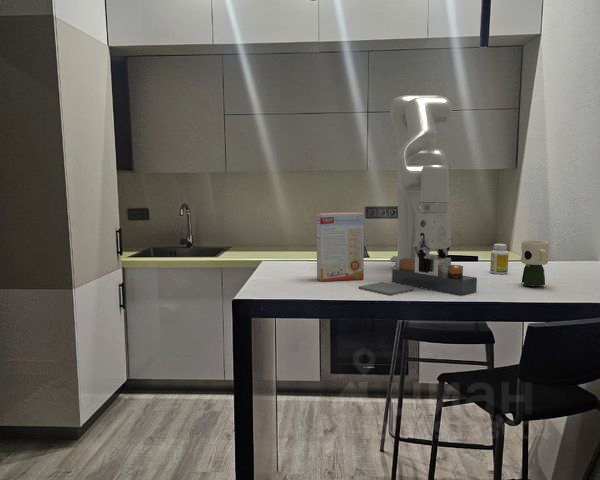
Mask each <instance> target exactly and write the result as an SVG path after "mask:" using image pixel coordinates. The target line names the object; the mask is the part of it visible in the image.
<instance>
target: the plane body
mask: <svg viewBox="0 0 600 480" xmlns="http://www.w3.org/2000/svg"><path fill="white" fill-rule="evenodd" d="M463 272H464V266H463V265H462V264H461V265H460V264H451V265H448V274H447V275H442V276H433V275H427V274H421V273H415V259H408V258H404V259H399V268H397V269H393V268H392V271H391V283H393V282H395V283H394V284H398V283H400V285H404V284H406V285H405V286H409V285H411V286H410V287H414V286H417V287H416V288H419V287H423V288H422V289H425V288H427V289H426V290H430V289H432V290H431V291H435V290H436V291H437V292H440V291H441V293H446V294H451V295H456V296H465V295H470V294H474V293H476V292H477V290H478V289H477V287H478V285H477V283H478V278H477V277H475V276H471V275H470V276H469V275H464V273H463Z"/></svg>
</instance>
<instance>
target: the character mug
mask: <svg viewBox="0 0 600 480" xmlns="http://www.w3.org/2000/svg"><path fill="white" fill-rule="evenodd" d="M520 249H521V257H520V261H521V263H522V264H523V265H524V264H525V265H524V267H523V273H522V278H521V285H523V286H528V287H535V288H537V287H538V286H545V285H546V277H545V276H546V275H545V268H544V266H543V265H548V263H549V253H550V252H549V251H550V250H549V249H550V242H549V241H545V240H536V239H535V240H531V239H530V240H522V241H521V247H520Z"/></svg>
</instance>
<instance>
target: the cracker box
mask: <svg viewBox="0 0 600 480" xmlns="http://www.w3.org/2000/svg"><path fill="white" fill-rule="evenodd" d="M315 215H316V216H315V217H316V218H315V220H316V221H315V222H316V225H315V226H316V230H315V231H316V235H315V236H316V279H317V280H319V282H336V281H356V280H358V281H359V280H364V277H365V274H364V273H365V264H364V263H365V255H364V252H365V246H364V245H365V244H364V243H365V239H364V238H365V233H364V231H365V230H364V229H365V227H364V226H365V225H364V224H365V223H364V221H365V220H364V219H365V218H364V212H359V211H356V212H355V211H353V212H351V211H350V212H321V213H320V212H319V213H318V212H317V213H316V214H315Z"/></svg>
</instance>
